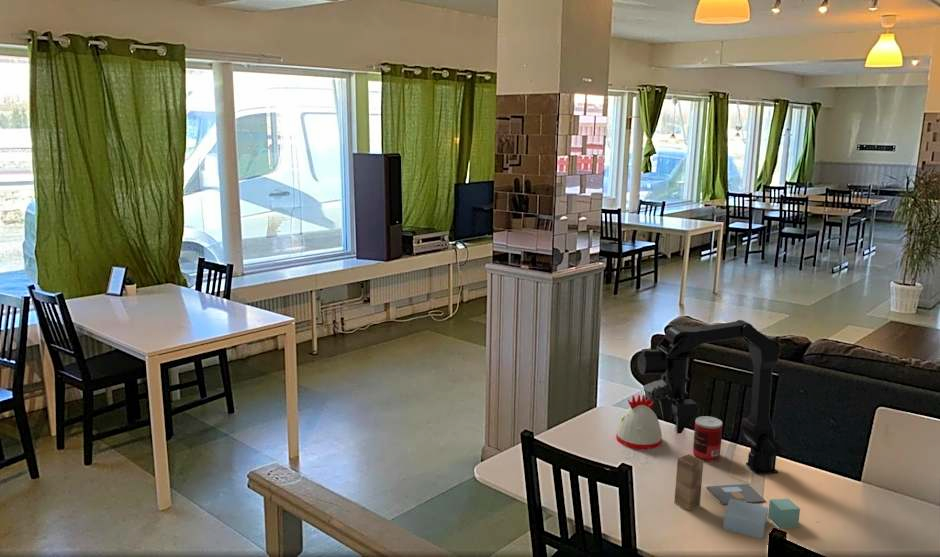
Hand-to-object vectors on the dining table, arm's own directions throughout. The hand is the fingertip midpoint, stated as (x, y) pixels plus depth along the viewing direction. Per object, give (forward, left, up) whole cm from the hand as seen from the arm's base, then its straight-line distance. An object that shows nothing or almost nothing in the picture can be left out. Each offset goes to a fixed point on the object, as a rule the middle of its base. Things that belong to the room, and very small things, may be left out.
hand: (671, 426), depth 195 cm
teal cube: (-18, +27, -15) cm, 36 cm away
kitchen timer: (0, -23, -15) cm, 28 cm away
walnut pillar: (+2, +16, -15) cm, 22 cm away
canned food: (-16, -10, -15) cm, 24 cm away
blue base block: (-8, +27, -15) cm, 32 cm away
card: (-13, +13, -15) cm, 24 cm away
